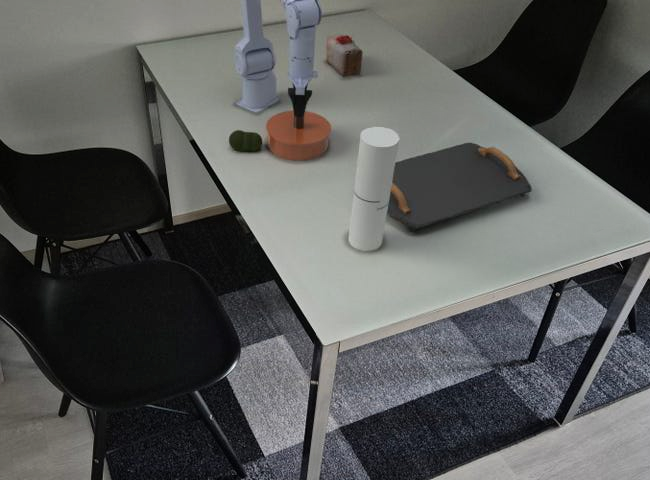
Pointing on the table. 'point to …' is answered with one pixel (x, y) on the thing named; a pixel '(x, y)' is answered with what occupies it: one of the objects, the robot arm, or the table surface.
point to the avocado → (245, 141)
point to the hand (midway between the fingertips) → (299, 108)
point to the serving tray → (452, 184)
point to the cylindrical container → (372, 187)
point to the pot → (297, 149)
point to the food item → (344, 55)
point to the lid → (298, 128)
